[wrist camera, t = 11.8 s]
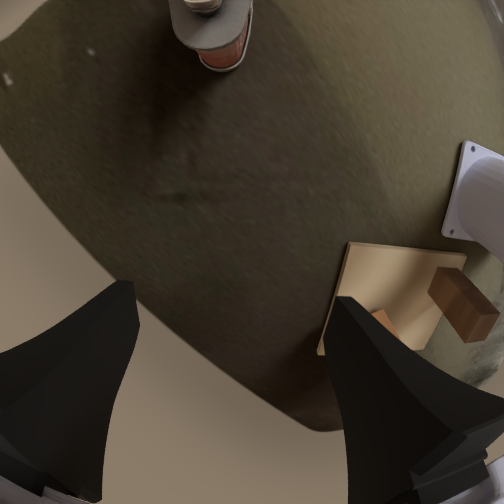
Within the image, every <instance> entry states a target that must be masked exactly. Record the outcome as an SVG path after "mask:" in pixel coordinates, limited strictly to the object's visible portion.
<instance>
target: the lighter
mask: <svg viewBox="0 0 504 504" xmlns="http://www.w3.org/2000/svg"><path fill="white" fill-rule="evenodd" d="M252 4H253V0H169V7H170V13H171V19H172V25H173V30H174V32H175V34H176V37H177V38H178V39H179V40H180V41H181V42H182V43H183V44H185V45H186V46H187V47H188V48H191V49H194V50H196V51H197V53H198V54H199V58H200V60H201V62H202V63H203V64H204V65H205V66H206V67H207V68H208V69H211V70H213V71H217V72H226V71H231V70H233V69H235V68H237V67H238V66H239V65H240V64H241V63H242V61H243V60H244V57H245V53H246V49H247V45H248V41H249V37H250V29H251V21H252V12H253V9H252Z"/></svg>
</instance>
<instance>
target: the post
mask: <svg viewBox="0 0 504 504" xmlns="http://www.w3.org/2000/svg"><path fill="white" fill-rule="evenodd" d="M427 293H428V294H429V296H430V297H431V298H432V299H433V301H434V302H435V303H436V305H437V306H438V307H439V309H440V310H441V311H442V313H443V314H444V315H445V317H446V318H447V319H448V321H449V322H450V323H451V325H452V326H453V328H454V329H455V330H456V332H457V333H458V335H459V336H460V337H461V339H462V340H463V342H464V343H471V342H477V341H483V340H485V339H486V338H487V336H488V334H489V333H490V331H491V329H492V327H493V326H494V324H495V322H496V320H497V319H498V317H499V315H500V312H499V311H498V310H497V309H496V308H495V307H494V306H493V305H492V303H491V302H490V301H489V300H488V299H487V298H486V297H485V296H484V295H483V294H482V293H481V291H480V290H479V289H478V288H477V287H476V286H475V285H474V284H473V283H472V282H471V281H470V280H469V279H468V278H467V277H466V276H465V275H464V274H463V273H462V272H461V271H460V270H459V269H458V268H449V267H437V269H436V272H435V274H434V277H433V279H432V282H431V284H430V287H429V289H428V291H427Z"/></svg>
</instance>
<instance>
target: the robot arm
mask: <svg viewBox="0 0 504 504" xmlns="http://www.w3.org/2000/svg"><path fill="white" fill-rule="evenodd" d="M471 147H472V151H471ZM451 230H452V231H451ZM450 231H451V232H450ZM441 233H442V235H443V236H445V237H449V238H456V239H463V240H469V241H476V242H478V243H480V244H481V245H482V246H483V247H485V248H486V249H487V250H488V251H490V252H491V253H492V254H493V255H494V256H495V257H497V258H498V259H499V260H500V261H501V262H503V263H504V157H503V156H501V155H499V154H497V153H495V152H493V151H491V150H489V149H486V148H484V147H482V146H480V145H477V144H475V143H473V142H470V141H467V140H466V141H464V142H463V144H462V149H461V154H460V159H459V164H458V169H457V173H456V178H455V182H454V186H453V190H452V194H451V198H450V202H449V205H448V209H447V213H446V216H445V219H444V223H443V226H442V229H441ZM139 327H140V322H139V317H138V311H137V304H136V298H135V291H134V284H133V282H132V281H122V280H117V281H116V282H114V283H113V284H111V285H110V286H108V287H107V288H106V289H104V290H103V291H102V292H100V293H99V294H98V295H97V296H95V297H94V298H93V299H91V300H90V301H88V302H87V303H86V304H85V305H83V306H82V307H81V308H79V309H78V310H77V311H75V312H73V313H72V314H71V315H69V316H68V317H66V318H65V319H63V320H62V321H61V322H59V323H58V324H56V325H55V326H53V327H51V328H50V329H48V330H46V331H45V332H43V333H41V334H40V335H38V336H36V337H34V338H33V339H30V340H29V341H26V342H24V343H22V344H20V345H18V346H16V347H14V348H12V349H10V350H7V351H5V352H2V353H0V504H90V503H97V502H99V501H100V500H102V476H103V464H104V454H105V447H106V440H107V434H108V428H109V423H110V418H111V414H112V409H113V405H114V402H115V398H116V395H117V392H118V390H119V387H120V385H121V382H122V379H123V377H124V374H125V371H126V369H127V366H128V364H129V361H130V358H131V356H132V353H133V350H134V347H135V343H136V340H137V336H138V332H139ZM323 344H324V351H325V357H326V362H327V366H328V369H329V373H330V377H331V380H332V383H333V387H334V390H335V394H336V397H337V401H338V404H339V408H340V412H341V417H342V422H343V429H344V435H345V444H346V454H347V465H348V466H347V468H348V504H504V455H502V456H501V457H499V458H497V459H495V460H494V461H492V462H491V463H489V464H488V465H485V463H484V459H486V458H487V457H488V454H487V452H486V448H487V447H488V446H489V445H490V444H491V443H493V442H494V441H495V440H496V439H497V438H498V437H499V436H500V435H501V434H502V433H503V432H504V398H502V397H499V396H496V395H493V394H490V393H487V392H485V391H482V390H479V389H477V388H475V387H473V386H470V385H468V384H466V383H464V382H462V381H460V380H458V379H456V378H454V377H452V376H451V375H449V374H447V373H445V372H444V371H442V370H440V369H439V368H437V367H435V366H434V365H432V364H431V363H429V362H428V361H427V360H425V359H424V358H422V357H421V356H419V355H418V354H417V353H415V352H414V351H413V350H411V349H410V348H409V347H408V346H406V345H405V344H404V343H403V342H402V341H400V340H399V339H398V338H397V337H396V336H395V335H393V334H392V333H391V332H390V331H389V330H388V329H387V328H386V327H384V326H383V325H382V324H381V323H380V322H379V321H378V320H377V319H376V318H375V317H374V316H373V315H372V314H370V313H369V312H368V311H367V310H366V309H365V308H364V307H363V306H362V305H361V304H360V303H358V302H357V301H356V300H355V299H354V298H353V297H351V296H335V300H334V303H333V306H332V310H331V313H330V316H329V319H328V323H327V326H326V329H325V332H324V335H323ZM68 495H70V496H72V497H70V496H68ZM73 497H75V498H73ZM76 498H79V499H82V500H84V501H88V502H90V503H87V502H84V501H81V500H78V499H76Z"/></svg>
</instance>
